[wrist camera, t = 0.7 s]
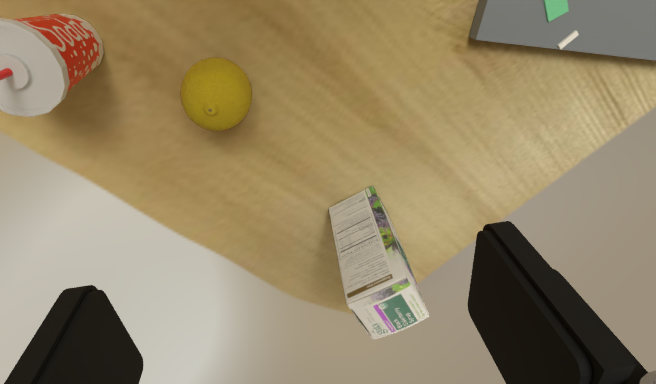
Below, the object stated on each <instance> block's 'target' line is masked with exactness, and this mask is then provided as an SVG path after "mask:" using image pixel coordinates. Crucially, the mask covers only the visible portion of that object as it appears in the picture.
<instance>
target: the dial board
mask: <svg viewBox="0 0 656 384" xmlns="http://www.w3.org/2000/svg"><path fill="white" fill-rule="evenodd" d="M469 37H470V38H473V39H475V40H481V41H490V42H499V43H507V44H516V45H525V46H533V47H542V48H551V49H560V50H568V51H577V52H586V53H594V54H603V55H612V56H620V57H629V58H638V59H646V60H655V61H656V0H479V3H478V6H477V10H476V13H475V17H474V20H473V24H472V27H471V31H470V34H469Z"/></svg>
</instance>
